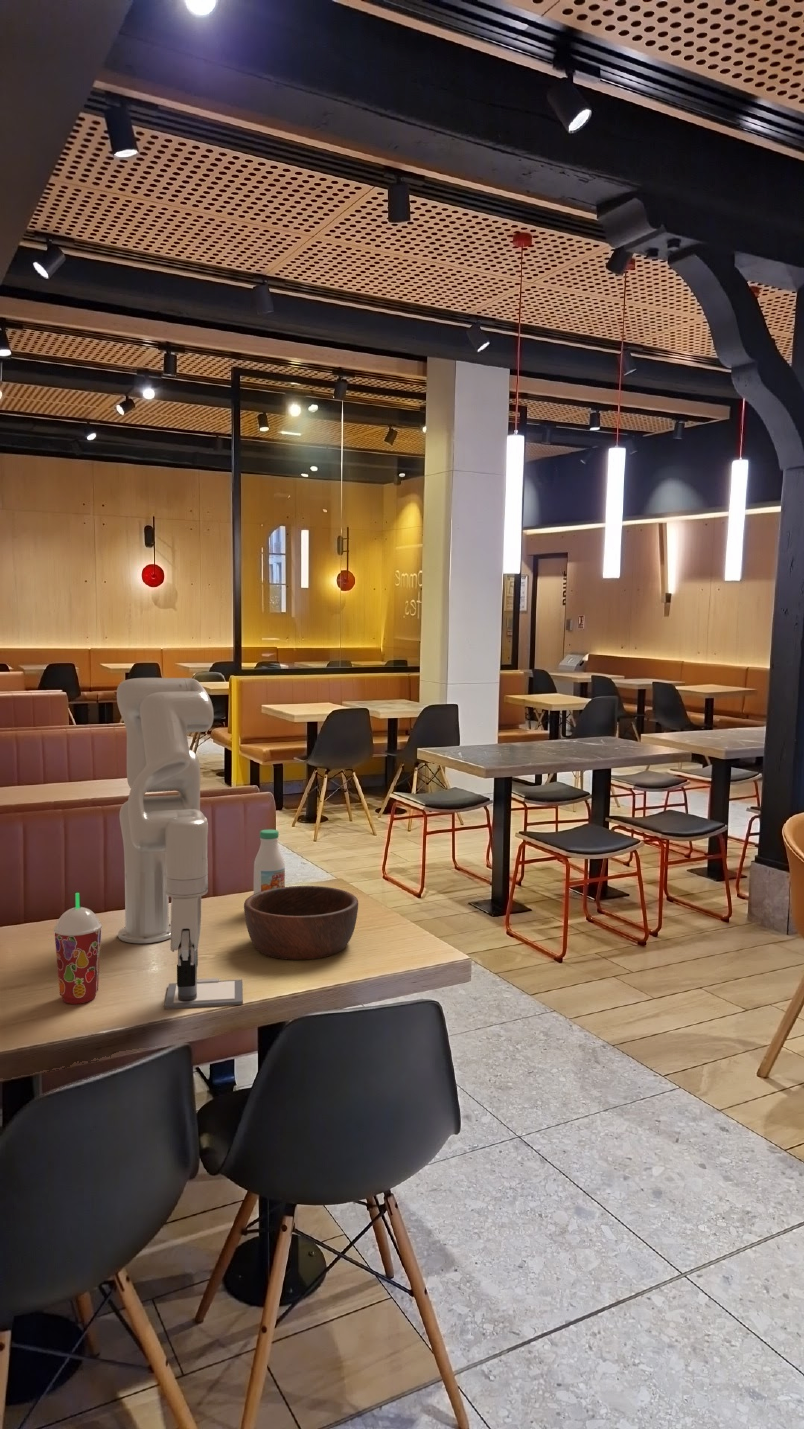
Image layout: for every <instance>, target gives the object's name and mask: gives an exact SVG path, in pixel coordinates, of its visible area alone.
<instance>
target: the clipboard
mask: <svg viewBox="0 0 804 1429" xmlns="http://www.w3.org/2000/svg"><path fill="white" fill-rule="evenodd" d="M243 987H244V986H243V979H232V980H231V979H228V980H220V978H219V977H217V978H216V977H215V978H214V977H213V978H199V979H198V978H197V998H196V999H195V1000H193V1001H189V1002H183V1001H179V1000H178V986H177V982H175V983H174V982H173V983H172V982H171V983H168V987H167V992H166V995H165V996H166V997H165V1001H164V1010H172V1009H183V1008H184V1009H186V1008H187V1009H189V1008H202V1007H203V1008H206V1007H220V1006H223V1007H224V1006H236V1005H244V1001H243V1000H244V993H243V990H244V988H243Z"/></svg>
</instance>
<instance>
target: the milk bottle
mask: <svg viewBox="0 0 804 1429" xmlns="http://www.w3.org/2000/svg"><path fill="white" fill-rule="evenodd" d="M279 836H280V833H279V831H278V830H277V829H262V830H260V832H259V838H260V839H259V840H260V845H259V849H258V852H257V854H256V856H255V858H254V862H253V894H256V893H258V892H261V891H265V890H269V889H274V888H280V887H286V871H285V870H286V868H285V867H286V866H285V859H284V856H283V854H282V851H281V849H280V847H279V843H278V840H279Z"/></svg>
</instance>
